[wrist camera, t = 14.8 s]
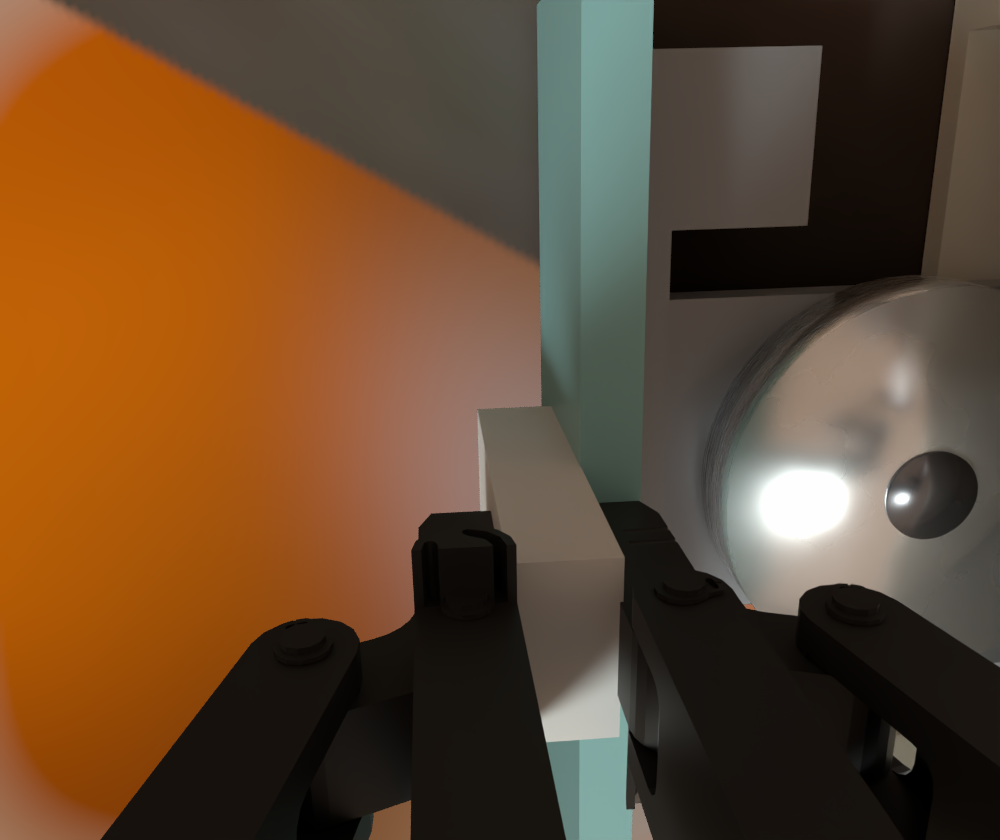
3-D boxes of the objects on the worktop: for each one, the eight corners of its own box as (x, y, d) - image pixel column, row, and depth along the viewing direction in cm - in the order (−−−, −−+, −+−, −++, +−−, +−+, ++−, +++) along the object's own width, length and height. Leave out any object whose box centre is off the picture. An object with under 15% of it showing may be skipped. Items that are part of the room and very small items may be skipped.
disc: (1103, 267, 17) (1174, 279, 15) (1035, 618, 19) (1090, 662, 18) (710, 282, 16) (742, 297, 15) (692, 643, 19) (717, 689, 17)
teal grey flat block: (546, 777, 21) (578, 948, 17) (536, 5, 16) (581, -51, 11) (1023, 737, 22) (1177, 890, 18) (1169, -6, 17) (1446, -61, 12)
